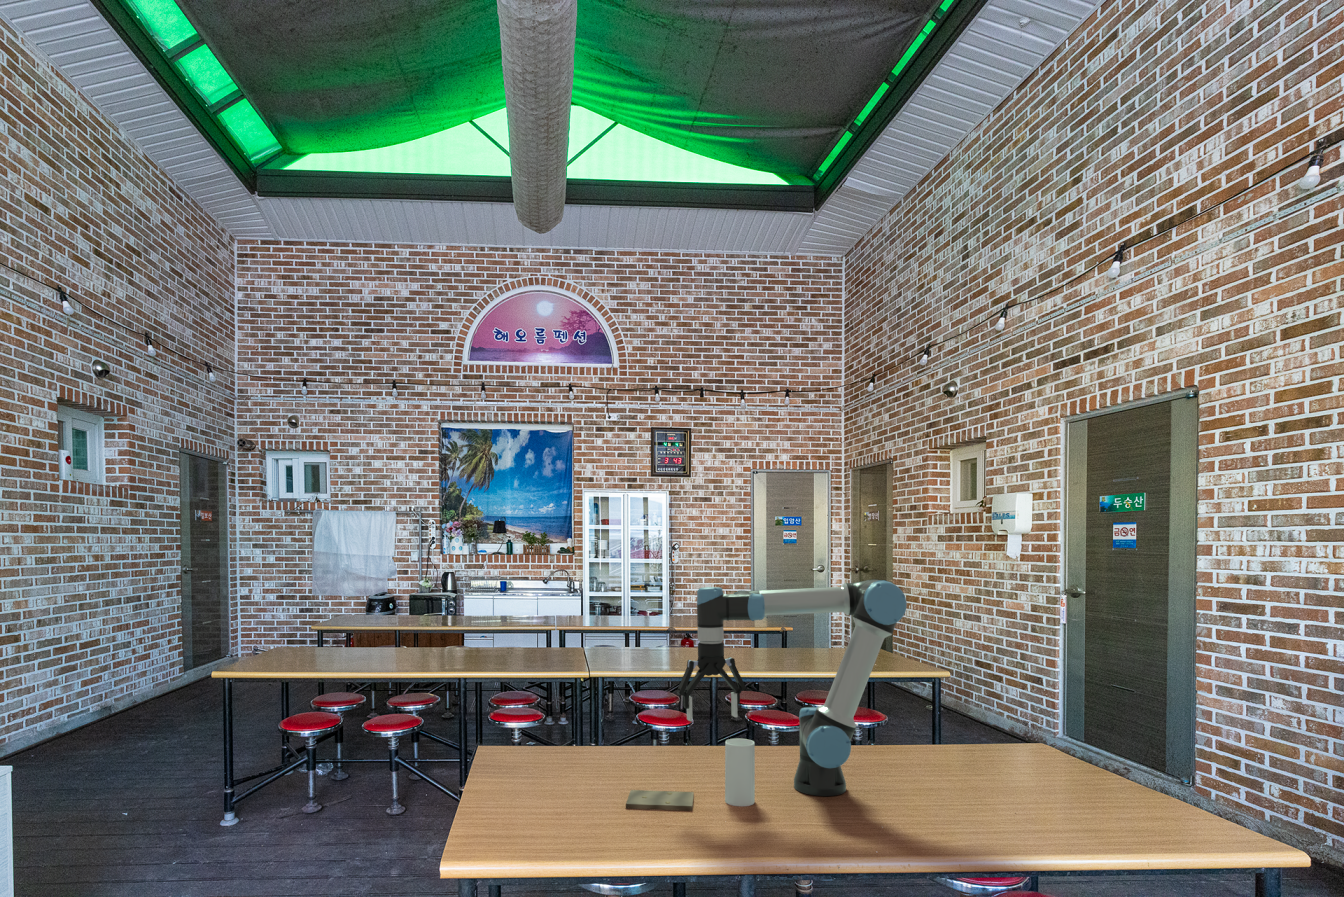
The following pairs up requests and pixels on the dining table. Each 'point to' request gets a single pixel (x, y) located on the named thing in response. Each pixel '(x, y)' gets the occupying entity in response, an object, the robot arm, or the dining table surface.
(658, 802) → the board
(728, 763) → the cup
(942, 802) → the dining table surface
